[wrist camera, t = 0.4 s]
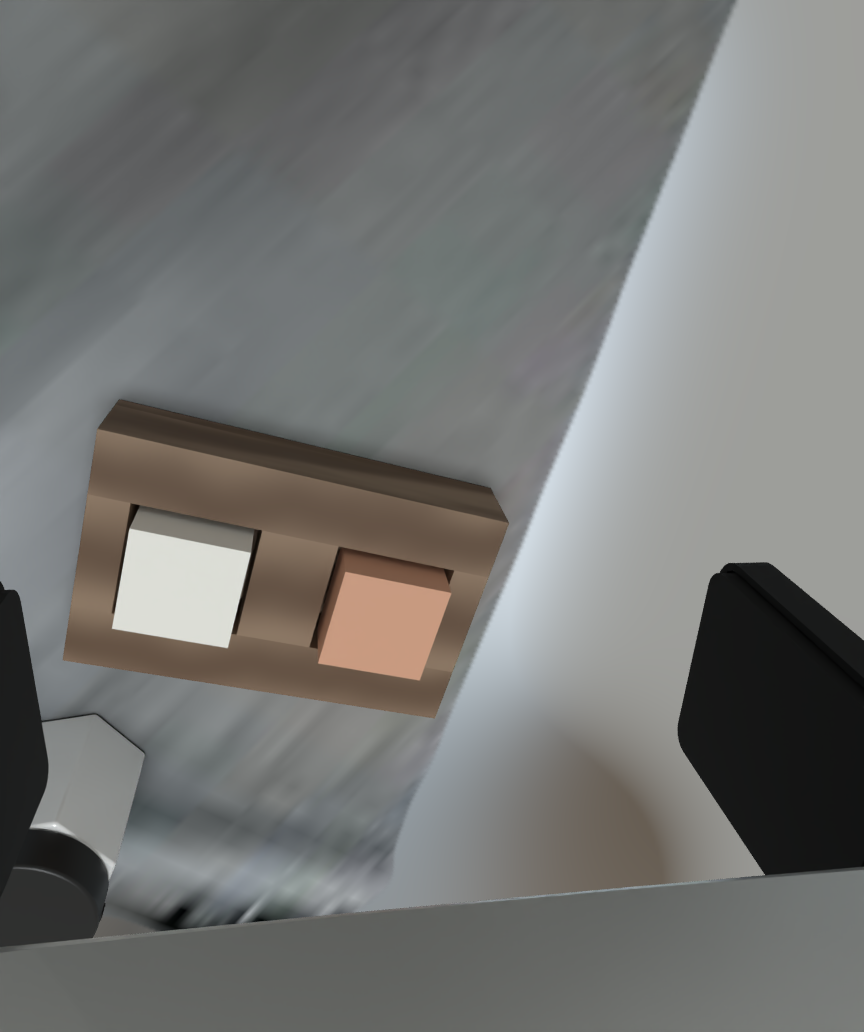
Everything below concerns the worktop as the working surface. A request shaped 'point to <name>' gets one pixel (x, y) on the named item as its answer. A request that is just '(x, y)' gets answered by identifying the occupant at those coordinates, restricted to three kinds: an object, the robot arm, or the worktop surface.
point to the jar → (72, 834)
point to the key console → (275, 552)
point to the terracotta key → (381, 614)
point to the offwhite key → (182, 577)
